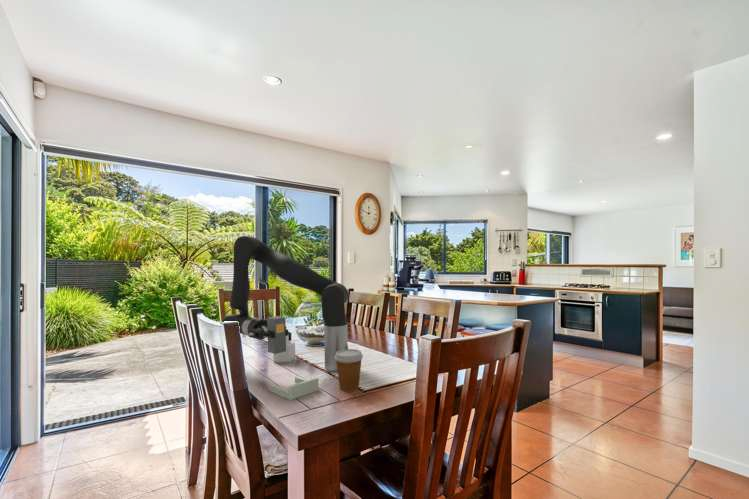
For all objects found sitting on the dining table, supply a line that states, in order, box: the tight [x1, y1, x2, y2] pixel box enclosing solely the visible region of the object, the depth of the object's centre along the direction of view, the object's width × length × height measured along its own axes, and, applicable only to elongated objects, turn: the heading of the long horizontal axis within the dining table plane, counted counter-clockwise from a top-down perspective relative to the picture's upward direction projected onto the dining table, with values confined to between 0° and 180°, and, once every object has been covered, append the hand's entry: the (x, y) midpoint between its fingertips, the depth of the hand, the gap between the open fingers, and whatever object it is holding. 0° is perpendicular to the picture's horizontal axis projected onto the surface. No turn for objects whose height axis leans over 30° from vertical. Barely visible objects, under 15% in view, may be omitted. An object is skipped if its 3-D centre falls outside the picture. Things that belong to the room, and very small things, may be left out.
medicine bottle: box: [273, 331, 296, 363], centre depth 160 cm, size 7×7×12 cm
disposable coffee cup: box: [335, 348, 364, 393], centre depth 125 cm, size 10×10×12 cm
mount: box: [269, 375, 320, 401], centre depth 124 cm, size 12×11×4 cm
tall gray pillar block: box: [266, 315, 287, 355], centre depth 131 cm, size 5×4×12 cm
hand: (280, 334), depth 129 cm, fingers closed on tall gray pillar block, 4 cm apart
